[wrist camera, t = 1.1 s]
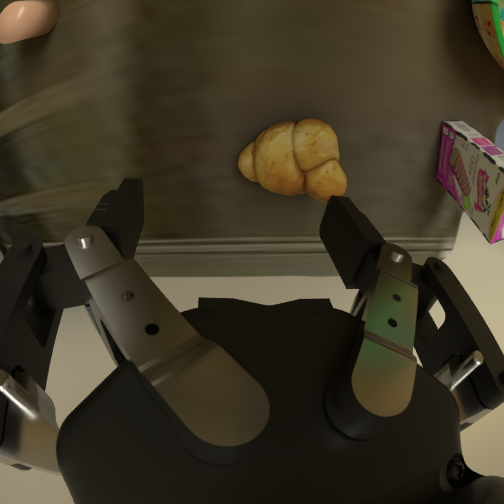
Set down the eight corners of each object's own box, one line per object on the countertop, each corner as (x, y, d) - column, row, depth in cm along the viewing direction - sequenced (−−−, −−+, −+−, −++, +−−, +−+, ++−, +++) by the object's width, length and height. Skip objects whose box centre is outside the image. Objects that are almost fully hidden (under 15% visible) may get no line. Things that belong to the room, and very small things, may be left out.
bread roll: (238, 181, 38) (242, 217, 32) (234, 114, 31) (238, 137, 26) (328, 176, 39) (349, 210, 33) (336, 113, 32) (362, 136, 26)
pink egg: (36, -1, 14) (4, 1, 9) (65, 1, 16) (34, 1, 11) (23, 34, 17) (-10, 42, 12) (50, 38, 19) (18, 45, 14)
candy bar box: (439, 120, 32) (514, 179, 21) (461, 119, 32) (533, 175, 20) (433, 180, 40) (489, 246, 28) (453, 176, 40) (509, 238, 28)
